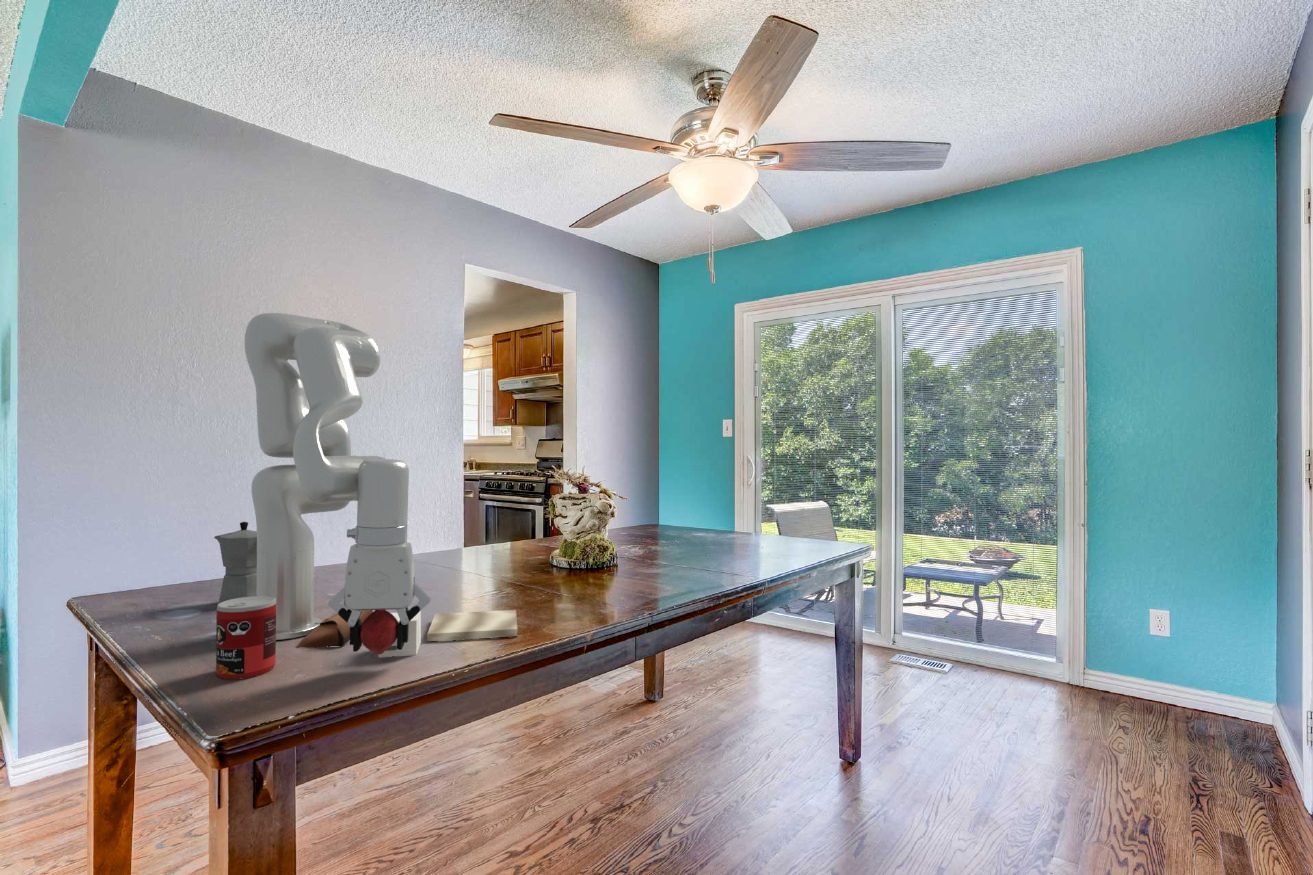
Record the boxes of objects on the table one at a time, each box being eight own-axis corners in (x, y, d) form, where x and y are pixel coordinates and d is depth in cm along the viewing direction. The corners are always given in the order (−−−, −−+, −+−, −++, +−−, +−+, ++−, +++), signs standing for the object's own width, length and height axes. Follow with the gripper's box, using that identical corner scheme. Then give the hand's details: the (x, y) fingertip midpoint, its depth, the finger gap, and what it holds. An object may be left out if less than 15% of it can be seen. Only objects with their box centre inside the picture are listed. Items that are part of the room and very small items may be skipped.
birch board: (427, 642, 119) (427, 633, 119) (435, 621, 132) (435, 613, 132) (517, 637, 122) (517, 629, 122) (516, 617, 136) (516, 609, 136)
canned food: (206, 673, 102) (207, 603, 102) (261, 659, 109) (261, 593, 109) (229, 684, 98) (230, 610, 98) (284, 669, 104) (285, 600, 104)
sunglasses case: (329, 620, 132) (347, 591, 133) (360, 637, 133) (378, 608, 133) (293, 649, 114) (314, 615, 115) (329, 668, 115) (350, 634, 116)
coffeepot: (198, 607, 141) (199, 524, 141) (229, 597, 150) (230, 518, 150) (267, 609, 140) (268, 525, 140) (294, 598, 150) (295, 519, 150)
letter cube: (378, 658, 110) (378, 622, 110) (385, 646, 116) (385, 613, 116) (416, 655, 112) (416, 620, 112) (420, 644, 118) (420, 611, 118)
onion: (384, 662, 102) (385, 611, 102) (351, 658, 103) (352, 608, 103) (405, 650, 108) (406, 601, 107) (374, 646, 109) (375, 598, 109)
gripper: (317, 540, 99) (314, 658, 100) (436, 539, 103) (432, 653, 104) (330, 532, 107) (327, 642, 107) (440, 532, 111) (437, 638, 111)
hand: (379, 646), depth 105 cm, fingers closed on onion, 5 cm apart
